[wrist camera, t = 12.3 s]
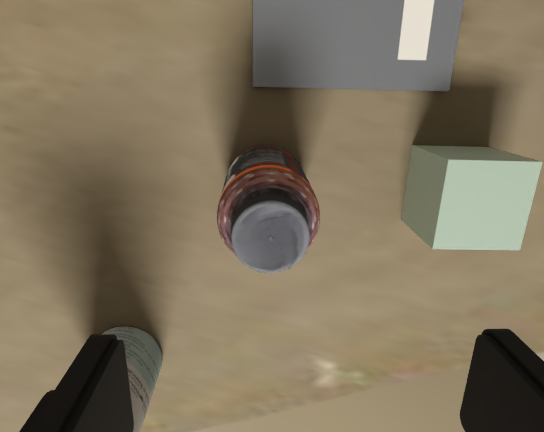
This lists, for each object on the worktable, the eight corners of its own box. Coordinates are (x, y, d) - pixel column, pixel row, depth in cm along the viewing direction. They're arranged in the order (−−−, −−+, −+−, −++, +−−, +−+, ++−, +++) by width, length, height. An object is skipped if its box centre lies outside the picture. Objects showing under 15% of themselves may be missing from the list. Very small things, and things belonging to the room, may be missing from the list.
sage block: (488, 146, 30) (542, 161, 24) (472, 220, 32) (519, 250, 26) (411, 144, 30) (448, 159, 24) (400, 219, 32) (432, 249, 26)
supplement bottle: (211, 169, 30) (185, 219, 19) (278, 128, 29) (291, 155, 18) (252, 232, 31) (251, 309, 21) (317, 194, 30) (350, 255, 20)
